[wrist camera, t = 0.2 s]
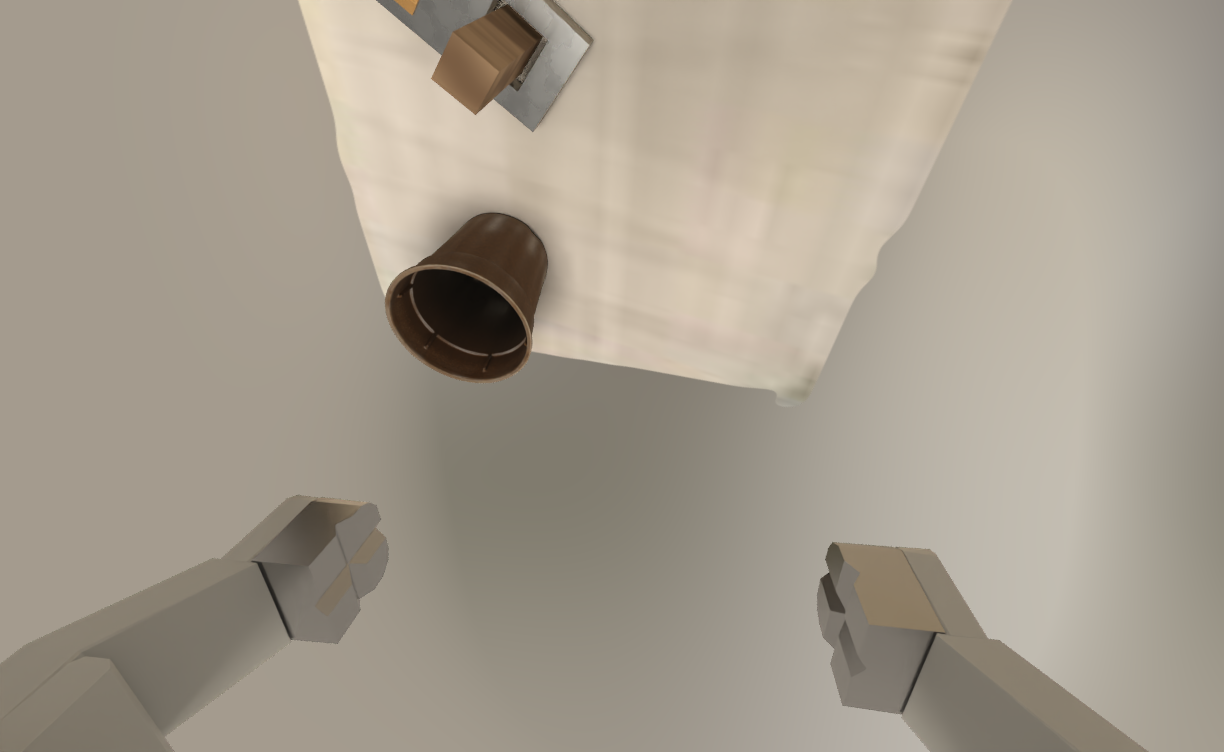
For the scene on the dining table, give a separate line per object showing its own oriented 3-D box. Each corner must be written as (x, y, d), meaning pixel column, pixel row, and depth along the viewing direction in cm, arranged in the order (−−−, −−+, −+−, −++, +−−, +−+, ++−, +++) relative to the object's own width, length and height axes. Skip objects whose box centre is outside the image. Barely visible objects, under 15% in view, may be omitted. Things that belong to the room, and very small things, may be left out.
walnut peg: (507, 4, 47) (452, 31, 37) (542, 36, 48) (499, 71, 38) (487, 43, 49) (431, 78, 39) (521, 73, 50) (475, 114, 40)
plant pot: (460, 304, 72) (413, 380, 61) (425, 196, 61) (359, 264, 50) (569, 307, 70) (542, 387, 58) (553, 195, 59) (515, 266, 47)
